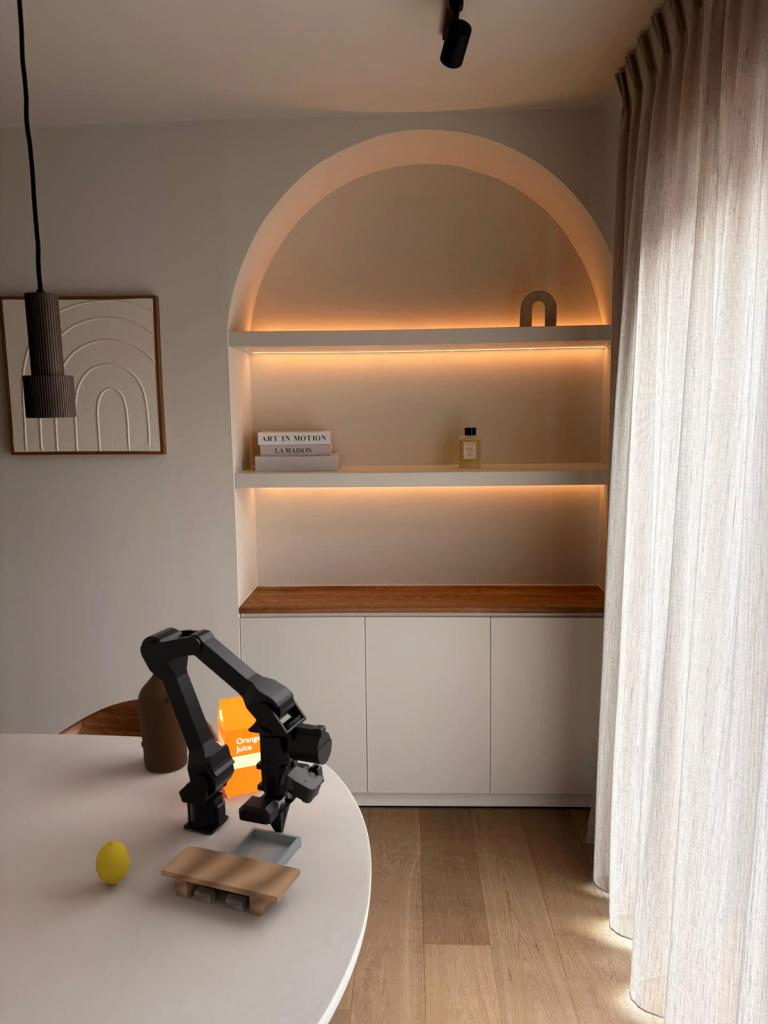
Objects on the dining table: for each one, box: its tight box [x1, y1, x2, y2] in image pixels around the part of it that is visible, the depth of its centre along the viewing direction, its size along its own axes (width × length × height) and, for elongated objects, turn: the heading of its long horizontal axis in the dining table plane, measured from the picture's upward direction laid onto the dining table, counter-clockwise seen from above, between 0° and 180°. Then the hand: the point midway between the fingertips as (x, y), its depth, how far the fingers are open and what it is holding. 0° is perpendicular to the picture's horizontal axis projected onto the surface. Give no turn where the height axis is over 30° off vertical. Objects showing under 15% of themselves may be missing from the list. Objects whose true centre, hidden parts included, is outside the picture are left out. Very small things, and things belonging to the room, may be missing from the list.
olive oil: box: [137, 673, 188, 774], centre depth 181 cm, size 11×11×25 cm
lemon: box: [95, 840, 131, 886], centre depth 138 cm, size 6×6×8 cm
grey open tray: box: [227, 826, 302, 866], centre depth 145 cm, size 10×14×2 cm
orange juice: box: [216, 695, 261, 798], centre depth 171 cm, size 8×9×20 cm
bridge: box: [160, 844, 301, 917], centre depth 136 cm, size 22×8×4 cm, turn 69°
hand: (279, 833), depth 152 cm, fingers closed
